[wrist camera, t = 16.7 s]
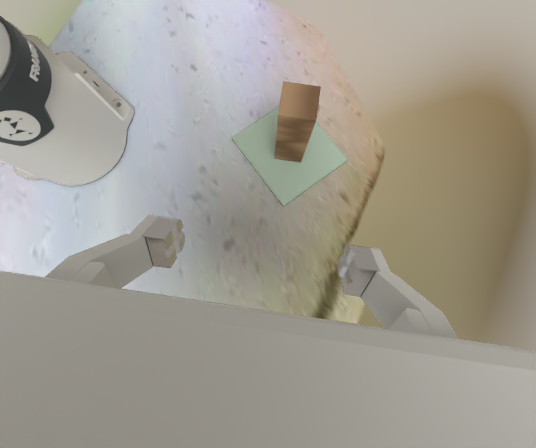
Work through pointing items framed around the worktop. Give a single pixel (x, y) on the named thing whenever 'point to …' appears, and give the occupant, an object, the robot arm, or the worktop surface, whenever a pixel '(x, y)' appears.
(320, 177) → the rubber mat
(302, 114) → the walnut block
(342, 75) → the worktop surface
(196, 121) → the worktop surface
